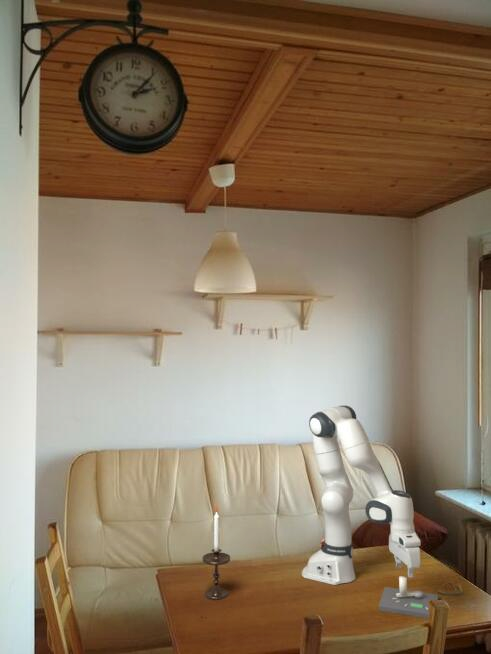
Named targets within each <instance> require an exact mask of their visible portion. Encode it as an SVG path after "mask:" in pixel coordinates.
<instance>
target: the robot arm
mask: <svg viewBox="0 0 491 654" xmlns="http://www.w3.org/2000/svg"><path fill="white" fill-rule="evenodd" d="M308 421H309V422H308V425H309V430H310V431H311V437H312V438H311V440H312V447H313V452H314V453H313V454H314V456H315V461H316V465H317V469H318V473H319V474H320V475H321V478H322V480H323V482H324V485H325V489H324V491H323V492H322V496H321V507H322V512H323V519H324V538H322V539H321V542H320V545H319V548H320V549H319V550H318V551H316V552H315V553H314V554H312V555H311V556H310V557H309V559H308V561H307V565H306V566H304V568H303V569H302V570H301V577H303V578H304V579H308V580H312V581H316V582H319V583H325V584H327V585H328V584H329V585H335V586H336V585H340V584H344V583H345V584H346V583H351V582H353V581H355V580H356V578H357V577H356V576H357V575H356V573H355V569H354V562H353V557H354V555H353V554H354V547H353V542H352V523H351V518H350V508H349V506H350V503H351V502H352V500H353V499H354V488H353V486H352V483H351V480H350V478H349V476H348V473H347V471H346V468H345V465H344V461H343V456H342V454H341V453H342V452H341V449H340V445H339V442H338V439H339V441H340V443H341V447H342V450H343V453H344V455H345V458H346V460H347V462H348V463H349V465H351V466H352V467H354V468H356V469H359V470H361V471H363V472H365V473H366V474H367V475H368V477H369V479H370V482H371V483H372V486H373V488H374V490H375V492H376V497H374V498H373V499H371V500H370V501H368V502H367V503H366V505H365V514H366V516H367V519H368V520H369V521H370V522H371V523H373V524H376V525H386V524H389V525H390V534H389V536H388V549H389V552H390V553H391V554H393V557H394V560H395V565H396V566H395V567H396V568H398V569H401V568H403V564H402V563H404V564H405V565H406V566H407V567H406V568H407V571H406V577H407V578H414V571H415V569H420V567H421V549H420V546H422V545H421V543H422V542H421V539H420V538H419V536H418V535H417V533H416V531H415V524H414V516H415V513H414V512H415V511H414V503H413V499H412V496H411V495H410V493H407V492H405V491H403V490H399V489H396V490H395V489H393V487H392V486H391V484H390V481H389V480H388V478H387V475H386V472H385V471H384V468H383V466H382V465H381V463H380V460H379V459H378V458H377V455H376V453H375V452H374V450H373V448H372V446H371V445H372V444H371V442H370V440H369V437H368V435H367V433H366V430H365V429H364V427H363V425H362V422H360V421H359V420H358V419H357V414H356V412H355V410H354V409H353V407H351V406H349V405H338V406H334V407H329V408H327V409H324V410H322V411H318V412H316V413H313V415H311V416H310V417H309V420H308Z"/></svg>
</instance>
